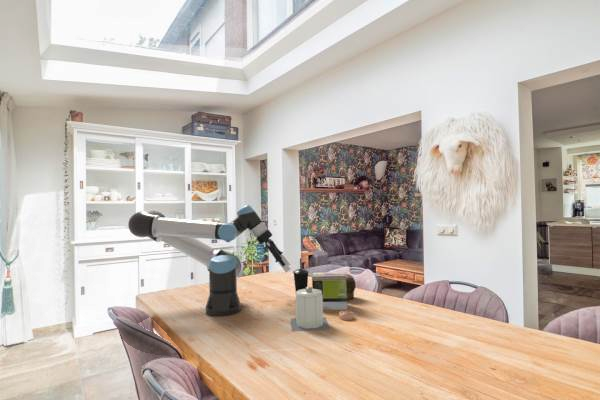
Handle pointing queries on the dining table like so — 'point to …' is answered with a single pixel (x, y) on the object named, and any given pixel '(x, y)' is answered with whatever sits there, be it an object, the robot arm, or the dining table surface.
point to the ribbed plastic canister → (309, 308)
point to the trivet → (296, 328)
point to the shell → (350, 286)
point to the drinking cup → (300, 278)
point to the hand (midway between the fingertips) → (288, 268)
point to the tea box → (331, 289)
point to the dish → (346, 315)
